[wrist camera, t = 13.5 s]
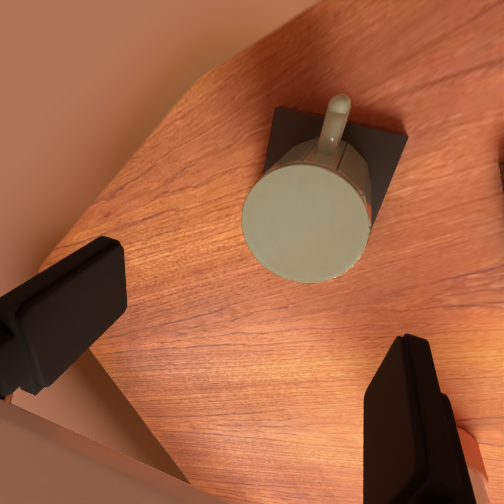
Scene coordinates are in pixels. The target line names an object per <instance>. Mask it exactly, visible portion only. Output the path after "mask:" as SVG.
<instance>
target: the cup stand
mask: <svg viewBox="0 0 504 504" xmlns="http://www.w3.org/2000/svg"><path fill="white" fill-rule="evenodd" d="M324 119H325V116H324V115H319V114H314V113H310V112H305V111H300V110H296V109H291V108H287V107H282V106H278V107H275V111H274V117H273V122H272V128H271V134H270V139H269V145H268V150H267V156H266V161H265V167H264V172H263V175H264V174H265V173H266V172H267V171H268V170H269V169H270V168H271V167H272V166H273V165H274V164H275V163H276V162H278V161H279V160H280V159H281V158H282V157H283V156H284V155H285V154H286V153H288V152H289V151H290V150H291V149H292V148H293V147H294V146H295V145H297V144H299V143H302V142H305V141H308V140H311V139H314V138H317V137H320V134H321V130H322V126H323V123H324ZM407 140H408V135H407V134H406V133H402V132H397V131H393V130H388V129H384V128H379V127H374V126H370V125H365V124H360V123H356V122H351V121H347V122H346V125H345V129H344V132H343V136H342V139H341V141H345V142H347V144H348V143H349V144H350V145H351V146H352V147H353V148H354V149H355V150H356V151H357V152H358V153H359V154H360V155H361V156H362V157H363V158H364V159H365V160H366V162H367V165H368V170H369V175H370V179H371V184H372V198H371V229H372V226H373V224H374V221H375V219H376V216H377V214H378V211H379V209H380V206H381V204H382V201H383V199H384V197H385V194H386V192H387V189H388V187H389V184H390V182H391V179H392V177H393V174H394V172H395V169H396V167H397V164H398V162H399V159H400V157H401V154H402V152H403V149H404V147H405V144H406V142H407ZM347 144H346V145H347ZM370 231H371V230H370ZM369 234H370V233H369Z"/></svg>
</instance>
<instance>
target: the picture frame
mask: <svg viewBox="0 0 504 504" xmlns="http://www.w3.org/2000/svg"><path fill="white" fill-rule="evenodd" d="M499 168H500V174H501V180H502V185H503V191H504V161H503V162H499Z"/></svg>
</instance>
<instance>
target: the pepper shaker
mask: <svg viewBox="0 0 504 504" xmlns="http://www.w3.org/2000/svg"><path fill="white" fill-rule="evenodd" d="M457 430H458V434H459V438H460V441H461V445H462V449H463V453H464V457H465V461H466V464H467V468H468V472H469V476H470V480H471V484H472V487H473V491H474V495H475V499H476V503H477V504H490V501H489V498H488V495H487V490H488V487H489V486H488V477H487V474H486V470H485V467H484V463H483V460H482V456H481V453H480V449H479V446H478V444H477V442H476V441H475V439H474V437H472V436H471V435H470V434H469V433H467V432H466V431H465V430H463V429H461V428H458V427H457Z"/></svg>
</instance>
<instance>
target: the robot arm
mask: <svg viewBox="0 0 504 504" xmlns="http://www.w3.org/2000/svg"><path fill="white" fill-rule="evenodd" d="M126 308H127V292H126V276H125V261H124V249H123V247H122V246H121V244H120V242H119V241H118V240H115V239H112V238H109V237H105V236H100V237H98V238H97V239H95V240H93V241H92V242H90V243H88V244H87V245H85V246H84V247H82V248H80V249H79V250H77V251H75V252H74V253H72V254H70V255H69V256H67V257H66V258H64V259H62V260H61V261H59V262H57V263H56V264H54V265H52V266H51V267H49V268H48V269H46V270H44V271H43V272H41V273H39V274H38V275H36V276H34V277H33V278H31V279H30V280H28V281H26V282H25V283H23V284H22V285H20V286H18V287H16V288H15V289H13V290H12V291H10V292H8V293H7V294H5V295H3V296H2V297H0V504H231V503H229V502H227V501H225V500H222V499H220V498H218V497H216V496H214V495H212V494H209V493H207V492H205V491H203V490H201V489H199V488H196V487H194V486H192V485H190V484H188V483H186V482H183V481H181V480H179V479H177V478H175V477H172V476H170V475H168V474H165V473H164V472H161V471H159V470H157V469H155V468H153V467H150V466H148V465H146V464H144V463H142V462H139V461H137V460H135V459H133V458H131V457H128V456H126V455H124V454H122V453H120V452H118V451H115V450H113V449H111V448H109V447H107V446H104V445H102V444H100V443H98V442H96V441H93V440H91V439H89V438H87V437H85V436H82V435H80V434H78V433H75V432H73V431H71V430H69V429H66V428H64V427H62V426H60V425H58V424H55V423H53V422H51V421H49V420H47V419H44V418H42V417H40V416H38V415H35V414H33V413H31V412H29V411H27V410H24V409H22V408H20V407H18V406H15V405H13V404H11V400H12V395H13V392H14V391H15V390H16V389H17V388H18V387H19V386H20V388H21V390H24V391H26V392H28V393H31V394H33V395H37V394H38V393H39V392H40V391H41V390H42V389H43V388H44V387H48V386H50V385H51V384H53V382H54V381H55V380H57V379H58V378H59V376H61V375H62V374H63V373H64V372H65V371H66V370H67V369H68V368H69V367H70V366H71V365H72V364H73V363H74V362H75V361H76V360H77V359H78V358H79V357H80V356H81V355H82V354H83V353H84V352H85V351H86V350H87V349H88V348H89V347H90V346H91V345H92V344H93V343H94V342H95V341H96V340H97V339H98V338H99V337H100V336H101V335H102V334H103V333H104V332H105V331H106V330H107V329H108V328H109V327H110V326H111V325H112V324H113V323H114V322H115V321H116V320H117V319H118V318H119V317H120V316H121V315H122V314H123V313H124V312H125V310H126ZM363 504H477V503H476V499H475V495H474V491H473V487H472V484H471V480H470V476H469V472H468V468H467V464H466V461H465V457H464V453H463V449H462V445H461V441H460V438H459V434H458V430H457V426H456V422H455V418H454V415H453V411H452V407H451V403H450V401H449V398H448V397H447V395H446V394H443V393H441V392H440V388H439V383H438V379H437V375H436V371H435V367H434V362H433V358H432V354H431V350H430V346H429V342H428V341H427V340H426V339H423V338H420V337H417V336H414V335H411V334H405V335H404V336H403V337H401V336H397V337H396V339H395V340H394V342H393V344H392V345H391V347H390V349H389V351H388V353H387V354H386V356H385V358H384V360H383V361H382V363H381V365H380V367H379V368H378V370H377V372H376V374H375V376H374V377H373V379H372V381H371V383H370V384H369V386H368V388H367V390H366V392H365V396H364V442H363Z"/></svg>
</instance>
